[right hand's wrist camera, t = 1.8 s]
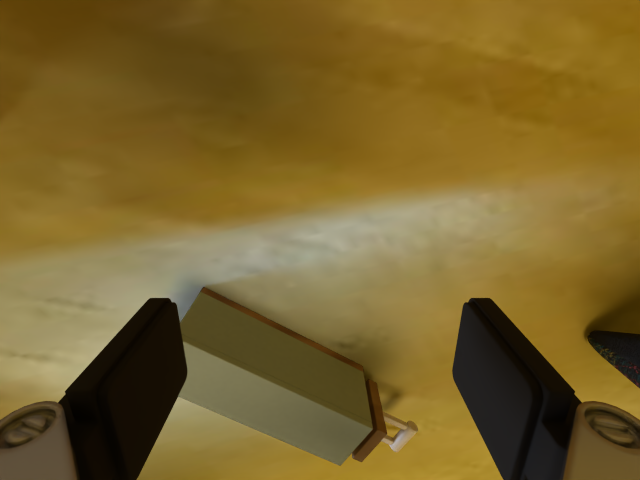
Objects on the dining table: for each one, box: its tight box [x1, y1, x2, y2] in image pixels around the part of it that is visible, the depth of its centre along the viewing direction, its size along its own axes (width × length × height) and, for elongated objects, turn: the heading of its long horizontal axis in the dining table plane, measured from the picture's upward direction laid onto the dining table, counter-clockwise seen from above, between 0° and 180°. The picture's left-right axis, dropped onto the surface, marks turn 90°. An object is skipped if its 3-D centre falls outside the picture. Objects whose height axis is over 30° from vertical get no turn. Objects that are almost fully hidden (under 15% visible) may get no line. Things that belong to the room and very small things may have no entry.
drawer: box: [352, 379, 418, 462], centre depth 37 cm, size 25×5×7 cm, turn 59°
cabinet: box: [178, 287, 373, 466], centre depth 36 cm, size 21×6×9 cm, turn 59°
